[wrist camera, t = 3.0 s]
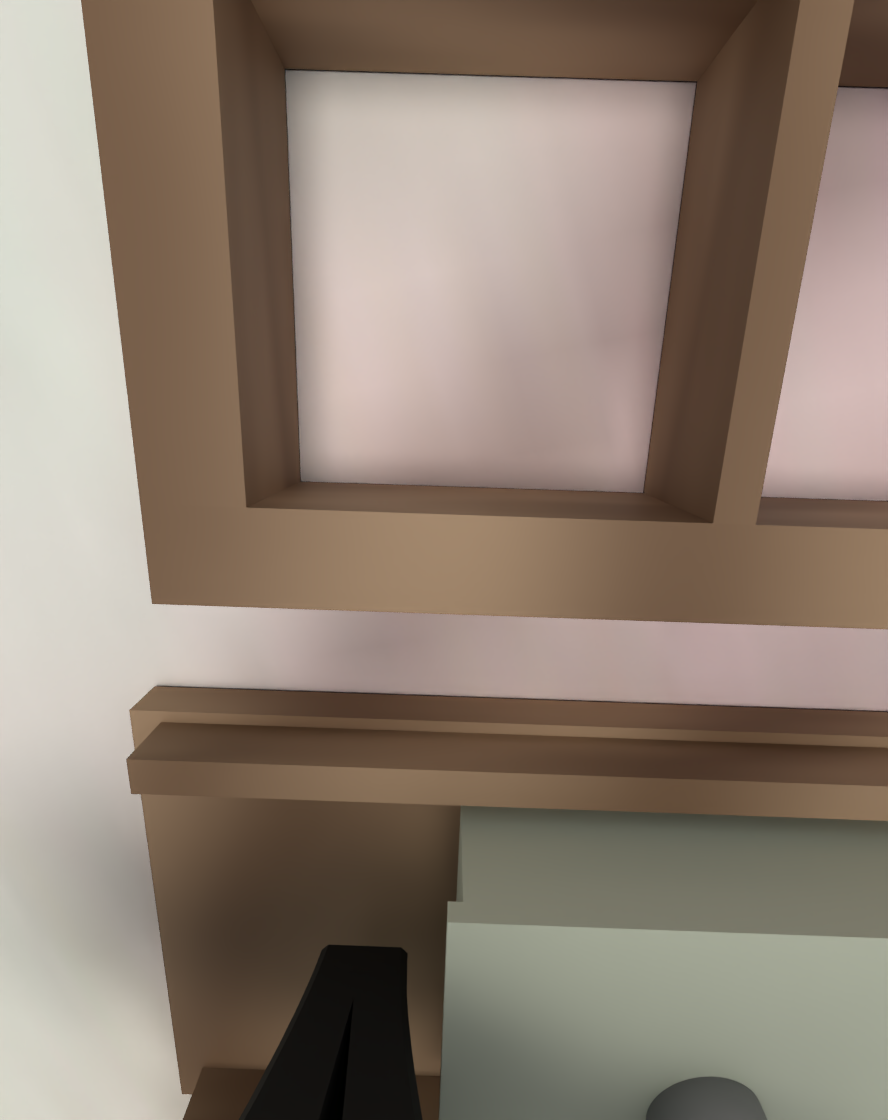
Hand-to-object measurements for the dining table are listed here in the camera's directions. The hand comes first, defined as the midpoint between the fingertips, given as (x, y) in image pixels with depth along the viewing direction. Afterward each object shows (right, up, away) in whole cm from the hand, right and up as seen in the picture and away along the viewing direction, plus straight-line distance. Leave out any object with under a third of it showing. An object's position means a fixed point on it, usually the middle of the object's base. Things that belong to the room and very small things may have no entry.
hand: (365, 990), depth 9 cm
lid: (+5, 0, +1) cm, 5 cm away
